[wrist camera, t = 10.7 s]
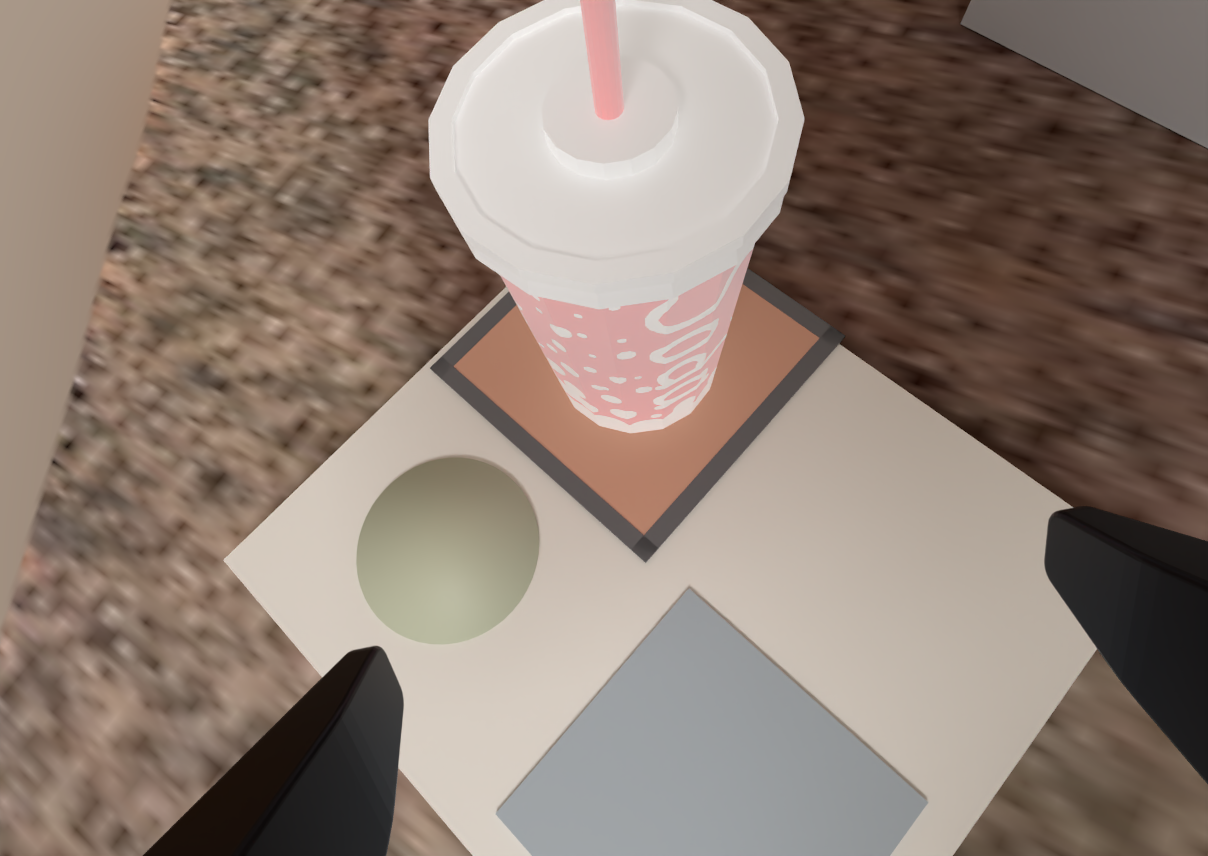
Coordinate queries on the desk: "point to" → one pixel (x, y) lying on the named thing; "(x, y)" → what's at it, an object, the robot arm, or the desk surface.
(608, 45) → the beverage cup
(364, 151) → the desk surface
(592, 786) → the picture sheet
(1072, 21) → the tape holder
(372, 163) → the desk surface
